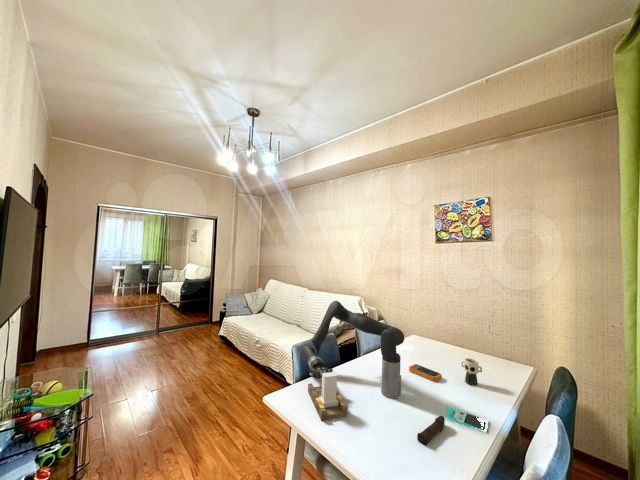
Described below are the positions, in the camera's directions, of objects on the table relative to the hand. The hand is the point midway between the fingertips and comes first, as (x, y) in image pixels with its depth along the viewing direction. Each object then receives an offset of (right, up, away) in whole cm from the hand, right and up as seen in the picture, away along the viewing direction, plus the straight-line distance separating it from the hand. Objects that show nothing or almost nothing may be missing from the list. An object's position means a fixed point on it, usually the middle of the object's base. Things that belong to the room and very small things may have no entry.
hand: (326, 380), depth 125 cm
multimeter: (+61, -15, +33) cm, 71 cm away
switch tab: (+1, -8, -4) cm, 9 cm away
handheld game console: (+62, -13, -10) cm, 64 cm away
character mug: (+84, -15, +24) cm, 89 cm away
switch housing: (0, -10, -1) cm, 11 cm away
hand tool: (+42, -12, -19) cm, 48 cm away
